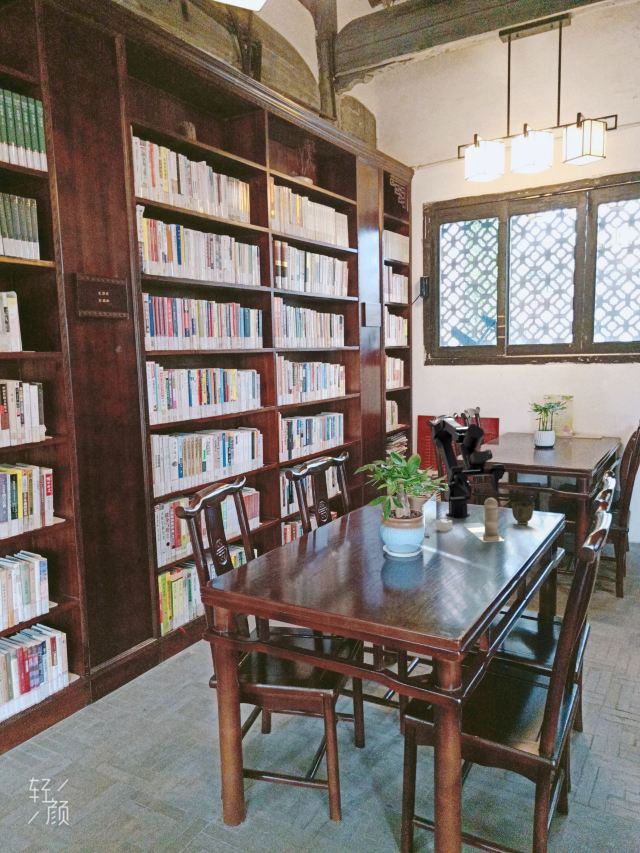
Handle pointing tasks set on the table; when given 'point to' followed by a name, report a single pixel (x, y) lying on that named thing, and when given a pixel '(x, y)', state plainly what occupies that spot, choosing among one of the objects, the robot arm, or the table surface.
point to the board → (478, 530)
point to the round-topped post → (491, 520)
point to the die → (444, 525)
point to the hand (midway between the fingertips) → (483, 493)
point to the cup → (522, 512)
